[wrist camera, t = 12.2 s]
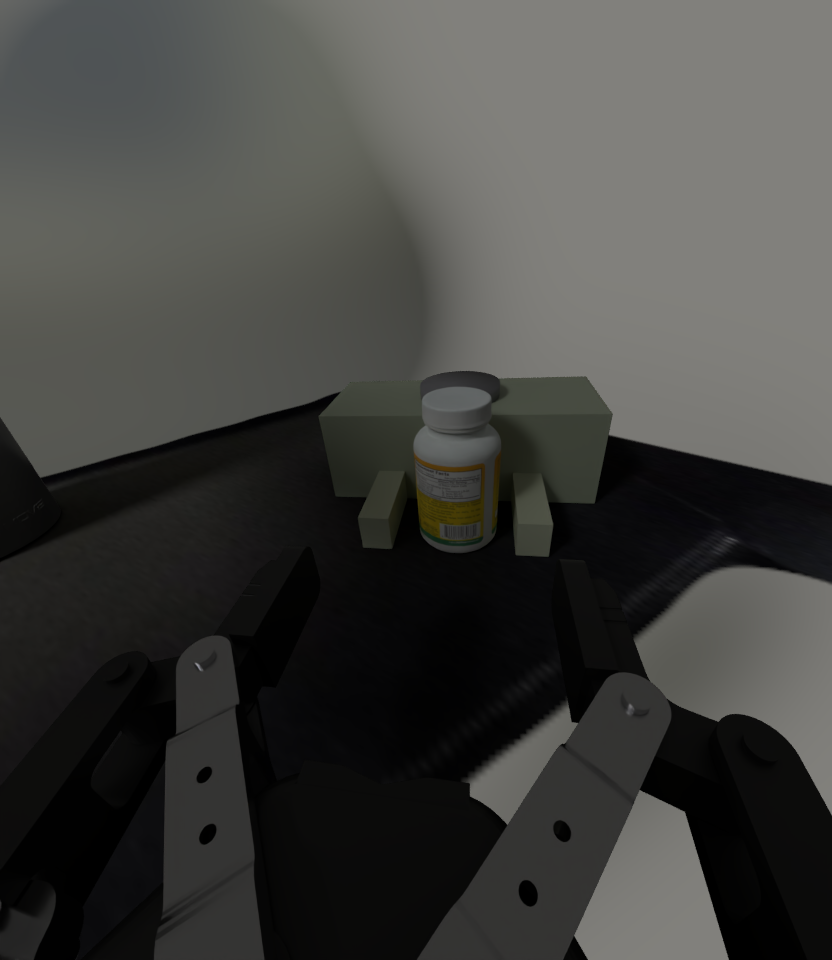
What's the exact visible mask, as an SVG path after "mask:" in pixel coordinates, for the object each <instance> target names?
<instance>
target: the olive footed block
mask: <svg viewBox="0 0 832 960" xmlns="http://www.w3.org/2000/svg"><path fill="white" fill-rule="evenodd" d="M447 387H470V388H476V389H480V390H483V391H485V392H487V393H488V394H490V396H491V399H492V406H491V412H492V417H491V419H490V421H489V423H488V424H489V425H491V426H492V427H493V428H494V429H495V430H496V431H497V432H498V434H499V436H500V439H501V461H500V476H499V493H498V501H511V509H512V520H513V531H514V542H515V552H516V555H522V556H543V557H549V552H550V544H551V537H552V530H553V522H552V518H551V513H550V509H549V505H548V502H559V503H595V499H596V494H597V489H598V484H599V479H600V474H601V469H602V464H603V459H604V454H605V449H606V444H607V439H608V435H609V430H610V424H611V420H612V415H613V414H612V412H611V411H610V410H609V408H608V407H607V405H606V404H605V402H604V401H603V400H602V398H601V397H600V395H599V394H598V393H597V391H596V390H595V388H594V387H593V386H592V384H591V383H590V381H589V380H588V379H587V377H546V378H505V379H498V378H497V377H495V376H493V375H491V374H487V373H482V372H474V371H458V372H457V371H456V372H447V373H441V374H437V375H434V376H431V377H428V378H426V379H425V380H421V381H381V382H380V381H378V382H350V383H349V384H348V386H347V387H346V388H345V389H344V390H343V391H342V392H341V393H340V394H339V395H338V396H337V397H336V398H335V399H334V401H333V402H332V403H331V404H330V405H329V406H328V407H327V408H326V409H325V410H324V411H323V412H322V413H321V414H320V415H319V421H320V426H321V430H322V435H323V440H324V444H325V449H326V454H327V458H328V463H329V468H330V472H331V477H332V482H333V486H334V491H335V496H338V497H367V499H366V501H365V503H364V505H363V507H362V510H361V512H360V514H359V516H358V522H359V527H360V533H361V538H362V544H363V548H381V549H392V548H393V545H394V541H395V538H396V535H397V531H398V528H399V525H400V522H401V518H402V515H403V512H404V508H405V505H406V502H407V498H412V499H417V487H416V474H415V463H414V448H413V445H414V439H415V437H416V435H417V433H418V432H419V431H420V430H421V429H422V428H423V427H424V426H425V424H424V421H423V418H422V398H423V397H424V396H425V395H426V394H427V393H429V392H431V391H434V390H437V389H442V388H447Z"/></svg>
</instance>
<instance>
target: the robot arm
mask: <svg viewBox="0 0 832 960" xmlns="http://www.w3.org/2000/svg"><path fill="white" fill-rule="evenodd" d="M60 514H61V509H60V507H59V505H58V504H57V502H56V501H55V499H54V498H53V496H52V495H51V493H50V492H49V490H48V489H47V487H46V486H45V484H44V483H43V481H42V480H41V478H40V477H39V476H38V474H37V472H36V471H35V469H34V468H33V466H32V464H31V463H30V461H29V460H28V458H27V457H26V455H25V454H24V452H23V451H22V449H21V448H20V446H19V445H18V443H17V442H16V441H15V439H14V437H13V436H12V434H11V433H10V431H9V430H8V428H7V427H6V425H5V424H4V422H3V421H2V419H1V418H0V558H2V557H4V556H6V555H8V554H10V553H12V552H14V551H16V550H18V549H20V548H22V547H24V546H25V545H27V544H29V543H30V542H32V541H33V540H35V539H37V538H38V537H39V536H41V535H42V534H43V533H45V532H46V531H48V530H49V529H50V528H51V527H52V526H53V525H54V524H55V523H56V521H57V520H58V518H59V517H60ZM319 592H320V578H319V574H318V570H317V567H316V563H315V559H314V556H313V552H312V550H311V548H310V547H303V546H287V547H285V548H284V550H283V551H282V553H281V554H280V556H279V557H278V559H277V560H276V561H275V560H271V561H270V562H268V563H267V564H266V565H265V566H263V567H262V568H261V569H260V570H258V571H257V573H256V574H255V576H254V577H253V579H252V580H251V582H250V583H249V586H247V587H246V589H245V590H244V592H243V593H242V594H243V595H242V596H240V598H239V599H238V601H237V602H236V603H235V605H234V606H233V608H232V609H231V611H230V612H229V614H228V615H227V617H226V618H225V619H224V621H223V622H222V624H221V625H220V627H219V628H218V630H217V631H216V633H215V634H214V635H213V636H210V637H206V638H203V639H201V640H199V641H197V642H196V643H194V644H193V645H191V646H190V647H189V648H188V649H187V650H186V651H185V652H184V653H183V654H182V655H181V656H179V657H174V658H169V659H164V660H160V661H155V662H150V660H149V659H148V658H147V656H146V655H145V654H144V653H142V652H138V651H132V652H127V653H124V654H121V655H119V656H117V657H115V658H113V659H111V660H110V661H108V662H107V663H105V664H104V665H103V666H102V667H101V668H100V669H99V670H98V671H97V672H96V673H95V674H94V675H93V676H92V677H91V679H90V680H89V681H88V682H87V683H86V685H85V686H84V687H83V688H82V689H81V691H80V692H79V693H78V694H77V695H76V697H75V698H74V699H73V700H72V701H71V702H70V704H69V705H68V706H67V707H66V708H65V710H64V711H63V712H62V713H61V714H60V716H59V717H58V718H57V719H56V720H55V722H54V723H53V724H52V725H51V726H50V727H49V729H48V730H47V731H46V732H45V733H44V735H43V736H42V737H41V738H40V739H39V741H38V742H37V743H36V744H35V745H34V747H33V748H32V749H31V750H30V751H29V752H28V754H27V755H26V756H25V757H24V758H23V760H22V761H21V762H20V763H19V764H18V766H17V767H16V768H15V769H14V770H13V772H12V773H11V774H10V775H9V776H8V777H7V779H6V780H5V781H4V782H3V783H2V785H1V786H0V960H76V958H77V955H78V953H79V949H80V940H79V937H80V934H81V931H82V927H83V921H84V911H83V905H84V904H85V902H86V900H87V898H88V897H89V895H90V893H91V891H92V889H93V888H94V886H95V884H96V882H97V881H98V879H99V877H100V875H101V873H102V872H103V870H104V868H105V866H106V865H107V863H108V861H109V859H110V857H111V856H112V854H113V852H114V850H115V849H116V847H117V845H118V843H119V841H120V840H121V838H122V836H123V834H124V833H125V831H126V829H127V827H128V825H129V824H130V822H131V820H132V818H133V817H134V815H135V813H136V811H137V810H138V808H139V806H140V804H141V802H142V801H143V799H144V797H145V795H146V794H147V792H148V790H149V788H150V786H151V785H152V783H153V781H154V779H155V778H156V776H157V774H158V772H159V770H160V769H161V767H162V765H163V763H164V762H165V760H166V771H165V830H164V882H163V883H162V884H161V885H160V886H158V887H157V888H156V889H155V890H154V891H153V892H152V893H151V894H150V895H149V896H148V897H147V898H146V899H145V900H144V901H143V902H141V903H140V904H139V905H138V906H137V907H136V908H135V909H134V910H133V911H132V912H131V913H130V914H129V915H128V916H127V917H125V918H124V919H123V920H122V921H121V922H120V923H119V924H118V925H117V926H116V927H115V928H114V929H113V930H112V931H111V932H109V933H108V934H107V935H106V936H105V937H104V938H103V939H102V940H101V941H100V942H99V943H98V944H97V945H96V946H95V947H93V948H92V949H91V950H90V951H89V952H88V953H87V954H86V955H85V956H84V957H83V958H82V959H81V960H588V959H587V957H586V956H585V954H584V952H583V950H582V949H581V947H580V945H579V944H578V942H577V940H576V938H575V937H574V934H575V932H576V930H577V928H578V926H579V923H580V921H581V919H582V917H583V915H584V912H585V910H586V908H587V906H588V904H589V901H590V899H591V897H592V895H593V893H594V890H595V888H596V886H597V884H598V881H599V879H600V877H601V875H602V873H603V870H604V868H605V866H606V864H607V862H608V859H609V857H610V855H611V853H612V850H613V848H614V846H615V844H616V842H617V839H618V837H619V835H620V833H621V831H622V828H623V826H624V824H625V822H626V819H627V817H628V815H629V813H630V811H631V809H632V806H633V804H634V801H635V799H636V796H637V794H638V792H639V790H641V791H643V792H645V793H648V794H649V795H651V796H654V797H656V798H658V799H660V800H662V801H664V802H666V803H668V804H670V805H672V806H674V807H676V808H678V809H680V810H682V811H685V813H686V816H687V820H688V823H689V827H690V830H691V834H692V837H693V840H694V844H695V847H696V850H697V854H698V857H699V860H700V864H701V867H702V871H703V874H704V877H705V881H706V884H707V887H708V891H709V894H710V897H711V901H712V904H713V907H714V911H715V914H716V917H717V921H718V924H719V928H720V931H721V934H722V938H723V941H724V944H725V948H726V951H727V954H728V958H729V960H832V815H831V813H830V811H829V810H828V808H827V806H826V804H825V802H824V800H823V799H822V797H821V795H820V793H819V791H818V790H817V788H816V786H815V784H814V782H813V781H812V779H811V777H810V775H809V773H808V771H807V769H806V768H805V766H804V764H803V762H802V761H801V759H800V757H799V755H798V754H797V752H796V750H795V749H794V748H793V747H792V745H791V744H790V743H789V742H788V741H787V740H786V739H785V738H784V737H783V736H782V735H781V734H780V733H779V732H777V731H776V730H775V729H773V728H772V727H770V726H769V725H767V724H766V723H764V722H762V721H760V720H757V719H756V718H752V717H750V716H746V715H741V714H731V715H727V716H725V717H723V718H722V719H721V720H720V721H719V722H717V721H715V720H712V719H709V718H706V717H704V716H701V715H699V714H696V713H694V712H691V711H688V710H686V709H684V708H681V707H679V706H677V705H676V704H674V703H672V702H671V701H669V700H668V699H666V697H665V696H664V695H663V693H662V692H661V691H660V690H659V689H658V688H657V687H656V686H655V685H653V683H651V682H650V680H649V679H648V677H647V674H646V672H645V669H644V667H643V664H642V661H641V659H640V656H639V653H638V650H637V648H636V645H635V642H634V640H633V637H632V634H631V632H630V629H629V626H628V625H627V621H626V618H625V615H624V613H623V612H622V607H621V605H620V602H619V599H618V597H617V594H616V592H615V591H614V590H613V589H612V588H611V587H610V586H609V584H608V583H607V582H606V581H605V580H604V579H593V578H590V575H589V572H588V569H587V566H586V563H585V561H583V560H563V559H558V561H557V564H556V571H555V577H554V584H553V591H552V614H553V620H554V626H555V631H556V637H557V642H558V648H559V653H560V659H561V665H562V670H563V676H564V681H565V687H566V692H567V698H568V704H569V709H570V715H571V720H572V722H576V723H578V725H577V726H576V728H575V730H574V731H573V733H572V734H571V736H570V737H569V739H568V740H567V742H566V743H565V744H561V745H560V746H559V747H558V748H557V749H556V751H555V752H554V754H553V755H552V757H551V758H550V760H549V761H548V763H547V765H546V766H545V768H544V769H543V771H542V772H541V774H540V776H539V777H538V779H537V780H536V782H535V783H534V785H533V786H532V788H531V790H530V791H529V793H528V794H527V796H526V797H525V799H524V800H523V802H522V803H521V805H520V807H519V808H518V810H517V811H516V813H515V814H514V816H513V818H512V819H511V821H510V822H509V824H508V825H507V824H506V823H505V822H504V821H503V820H502V819H501V818H500V817H499V816H498V815H497V814H496V813H495V812H494V811H493V810H491V809H490V808H489V807H487V806H486V805H484V804H483V803H481V802H480V801H478V800H476V799H474V798H472V797H470V783H463V782H456V781H449V780H442V779H435V778H428V777H425V778H419V779H413V780H407V781H401V782H395V783H389V784H379V783H377V782H375V781H373V780H371V779H369V778H367V777H365V776H363V775H361V774H359V773H357V772H355V771H353V770H351V769H349V768H347V767H345V766H343V765H337V764H330V763H323V762H316V761H309V760H304V762H303V765H302V768H301V771H300V773H298V774H294V775H291V776H288V777H285V778H283V779H281V780H279V781H277V779H276V776H275V773H274V770H273V767H272V764H271V761H270V757H269V752H268V747H267V742H266V737H265V732H264V727H263V721H262V716H261V711H260V706H259V701H258V698H257V695H258V693H259V691H260V689H261V687H262V686H266V687H275V688H276V686H277V684H278V682H279V679H280V677H281V675H282V673H283V671H284V669H285V667H286V664H287V662H288V660H289V658H290V656H291V654H292V652H293V650H294V647H295V645H296V643H297V641H298V639H299V637H300V635H301V632H302V630H303V628H304V626H305V624H306V622H307V620H308V617H309V615H310V613H311V611H312V609H313V607H314V605H315V603H316V600H317V598H318V596H319ZM120 730H121V731H122V735H121V736H120V738H119V739H118V740H117V742H116V743H115V745H114V746H113V748H112V749H111V751H110V752H109V754H108V755H107V757H106V758H105V760H104V761H103V763H102V764H101V765H100V767H99V768H98V770H97V771H96V773H95V774H94V776H93V777H92V773H93V771H94V769H95V767H96V765H97V764H98V762H99V761H100V759H101V758H102V756H103V755H104V753H105V752H106V751H107V749H108V748H109V746H110V745H111V743H112V742H113V740H114V739H115V738H116V736H117V735H118V733H119V732H120ZM91 777H92V779H91Z"/></svg>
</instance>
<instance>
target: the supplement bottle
mask: <svg viewBox="0 0 832 960" xmlns="http://www.w3.org/2000/svg"><path fill="white" fill-rule="evenodd" d="M491 406H492V399H491V396H490V394H488V393H487V392H485V391H483V390H480V389H476V388H470V387H447V388H442V389H437V390H434V391H431V392H429V393H427V394H426V395H425V396H424V397H423V398H422V418H423V421H424V424H425V426H424V427H423V428H422V429H421V430H420V431H419V432H418V433H417V435H416V437H415V439H414V445H413V448H414V463H415V474H416V487H417V500H418V513H419V524H420V532H421V535H422V537H423V538H424V539H425V540H426V541H427V542H428V543H429V544H430V545H432V546H433V547H435V548H437V549H439V550H442V551H445V552H450V553H467V552H472V551H475V550H478V549H480V548H482V547H484V546H485V545H487V544H488V543H489V542H490V541H491V540H492V538H493V537H494V535H495V532H496V527H497V512H498V493H499V476H500V461H501V439H500V436H499V434H498V432H497V431H496V430H495V429H494V428H493V427H492V426H491V425H489V424H488V423H489V421H490V419H491V417H492V412H491Z"/></svg>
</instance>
